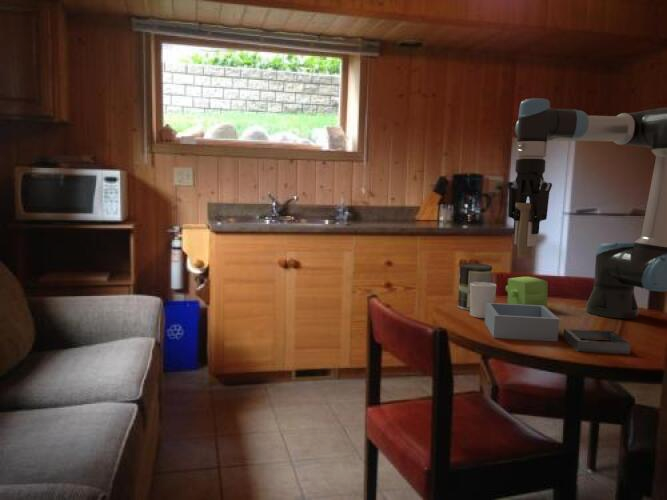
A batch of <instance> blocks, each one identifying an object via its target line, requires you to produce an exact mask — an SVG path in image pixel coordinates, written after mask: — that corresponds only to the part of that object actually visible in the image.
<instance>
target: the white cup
mask: <svg viewBox="0 0 667 500" xmlns="http://www.w3.org/2000/svg"><path fill="white" fill-rule="evenodd" d="M496 291H497V284H496V283H493V282H491V283H488V282H471V283H470V311H469V316H470V317H474V318H479V319H485V309H486V303H495V299H496Z"/></svg>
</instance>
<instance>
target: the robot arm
mask: <svg viewBox="0 0 667 500" xmlns="http://www.w3.org/2000/svg"><path fill="white" fill-rule="evenodd" d="M550 105H551V104H550V100H549V99H547V98H541V97H540V98H539V97H538V98H537V97H536V98H526V99H523V100H522V101H521V102H520V105H519V111H518V120H517V121H516V124H515V128H514V131H515V135H516V136H517V141H516V143H517V144H516V157H517V159H516V160H515V170H514V171H515V172H516V177H515V180H513V181H508V183H507V186H508V215H507V216H508V218H511V219H512V220H513V232H514V239H513V240H514V241H513V242H514V245H518V232H519V224H520V215H521V211H520V210H519V209H517V208H516V203H527V200H528V199H529V203H530V204H531V209H530V213H531V220H529V221H530V222H528V237H527V246H532V247H537V241H538V240H537V239H538V235H539V233H540V223H541V222H542V221H546V220H547V218H548V207H549V199H550V191H551V189H552V187H553V183H552V182H547V181H545V179H544V173H545V172H546V163H547V162H546V159H544V158H546V157H547V147H548V146H547V145H548V141H559V142H560V141H563V142H564V141H565V142H566V141H567V142H569V141H571V142H573V141H574V142H576V141H577V142H580V141H581V142H588V141H589V142H613V143H615V145H619V146H632V147H640V148H641V147H643V148H649V149H650V148H651V153H652V154H654V156H655V162H654V167H653V172H652V177H651V182H650V183H651V184H650V188H649V194H648V198H647V204H646V209H645V215H644V219H643V220H644V221H643V226H642V230H641V231H642V232H641V236H640V237H639V238H638V239H636V240H635V241H634V242H602V243H600V244H599V245H598V246H597V248H596V249H597V250H596V254H595V263H594V264H595V268H594V281H593V282H594V283H593V289H592V291H591V294H590V296H589V297H588V300H587V301H586V306H585V311H586V312H587V313H589V314H591V313H592V315H595V316H599V315H600V317H604V318H611V319H612V318H613V319H635V318H638V316H639V306H638V303H637V298H636V295H635V287H636V288H641V289H646V290H647V291H651V292H652V291H653V292H662V293H663V292H667V107H661V108H660V107H659V108H652V109H648V110H647V109H646V110H642V111H636V112H630V113H629V112H621V113H619V114H617V115H616V116H615V115H613V116H612V115H609V116H608V115H588V114H587V113H586V112H585V111H583V110H578V109H575V108H574V109H569V108H566V109H565V108H552V107H551V106H550Z"/></svg>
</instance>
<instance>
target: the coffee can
mask: <svg viewBox="0 0 667 500" xmlns="http://www.w3.org/2000/svg"><path fill="white" fill-rule="evenodd" d="M492 270H493V266H492V265H490V264H486V263H476V262H475V263H473V262H472V263H471V262H468V263H467V262H465V263H461V264H459V278H458V295H457V296H458V299H457V308H458V309H461V310H464V311H469V312H470V283H471V282H488V283H492Z"/></svg>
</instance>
